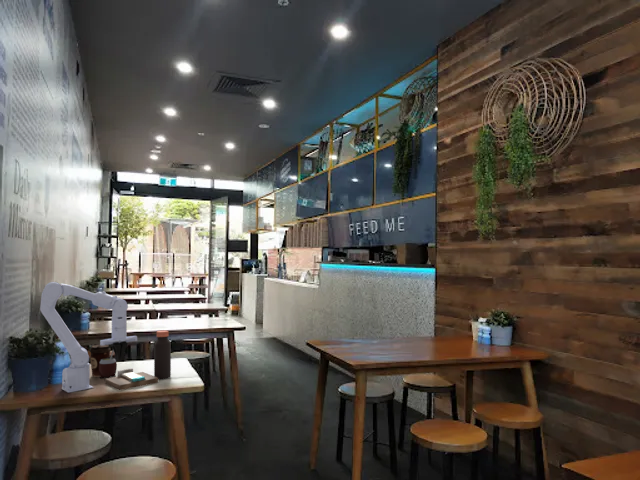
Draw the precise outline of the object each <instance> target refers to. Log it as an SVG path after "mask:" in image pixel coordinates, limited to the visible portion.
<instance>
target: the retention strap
mask: <svg viewBox="0 0 640 480" xmlns="http://www.w3.org/2000/svg"><path fill="white" fill-rule="evenodd" d="M135 373H136V372H134V371H133V372H128V373H122V374H121V376H123V377H125V378H128V379H130V380H132V381H133V382H135V381H140V380H145V377H144V376H140V375H138V374H135Z"/></svg>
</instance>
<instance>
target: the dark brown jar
mask: <svg viewBox="0 0 640 480" xmlns="http://www.w3.org/2000/svg"><path fill="white" fill-rule="evenodd" d="M109 345H110V344H108V345H100V344H95V345H92V346H91V347H90V349H89V350H88V351H89V353H90V356H89V359H90V367H91V368H90V370H91V374H92V375H91V376H92V377H97V378H100V377H101V376H100V373H99V363H100V361H101V359H106V358H110V357H111V355H110V354H111V351H112V348H110V346H109Z"/></svg>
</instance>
